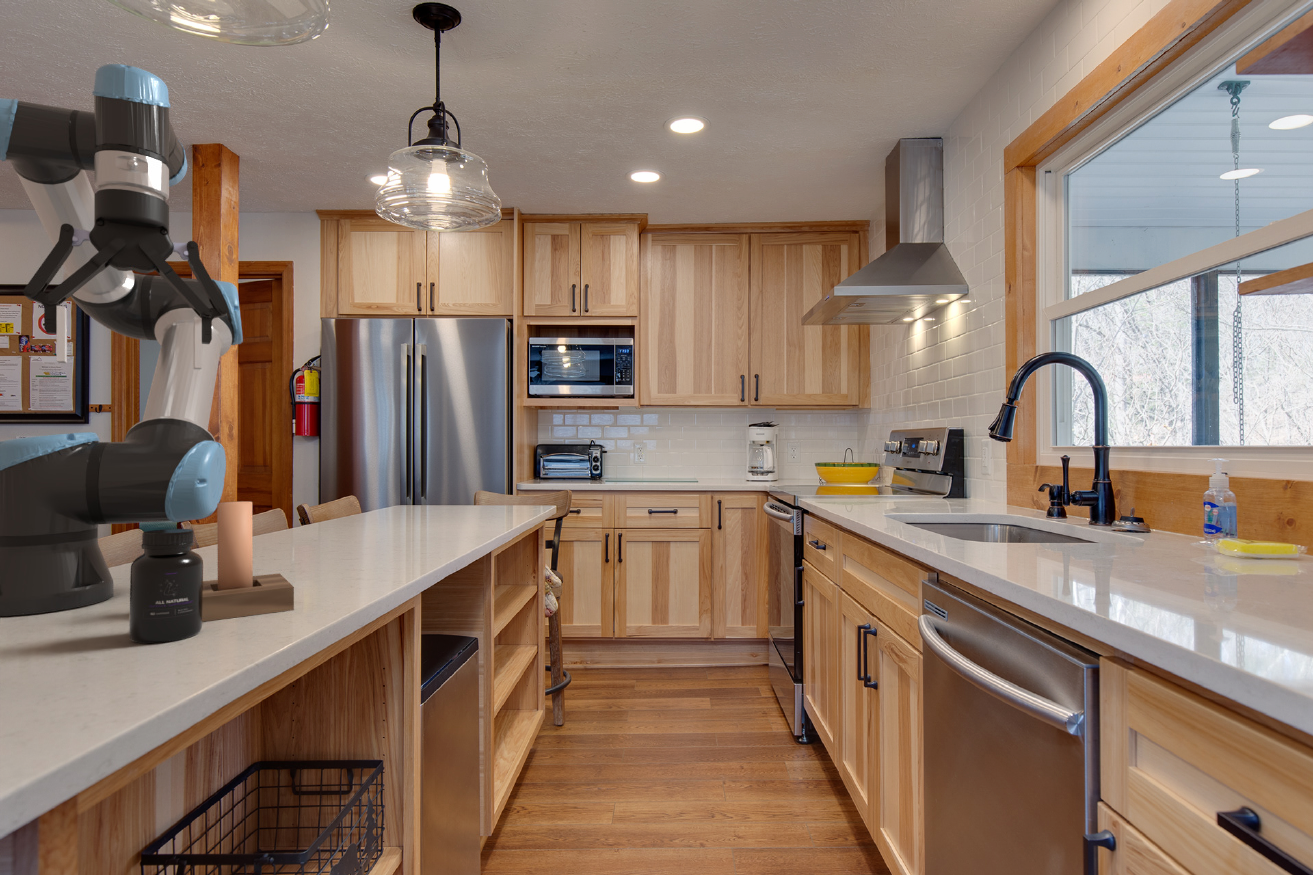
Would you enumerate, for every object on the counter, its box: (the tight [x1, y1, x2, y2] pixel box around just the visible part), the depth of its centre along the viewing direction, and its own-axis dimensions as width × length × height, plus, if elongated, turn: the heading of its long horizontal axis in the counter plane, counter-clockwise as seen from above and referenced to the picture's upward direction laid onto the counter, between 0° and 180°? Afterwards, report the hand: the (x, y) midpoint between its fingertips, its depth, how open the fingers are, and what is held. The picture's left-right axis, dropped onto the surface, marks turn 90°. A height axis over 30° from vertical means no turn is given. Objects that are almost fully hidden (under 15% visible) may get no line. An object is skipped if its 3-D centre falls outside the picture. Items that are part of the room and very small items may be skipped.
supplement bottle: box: [129, 528, 204, 644], centre depth 80 cm, size 7×7×12 cm
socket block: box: [202, 573, 295, 623], centre depth 93 cm, size 12×12×3 cm
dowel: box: [216, 500, 254, 591], centre depth 93 cm, size 4×4×14 cm
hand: (132, 365), depth 88 cm, fingers open, 13 cm apart
